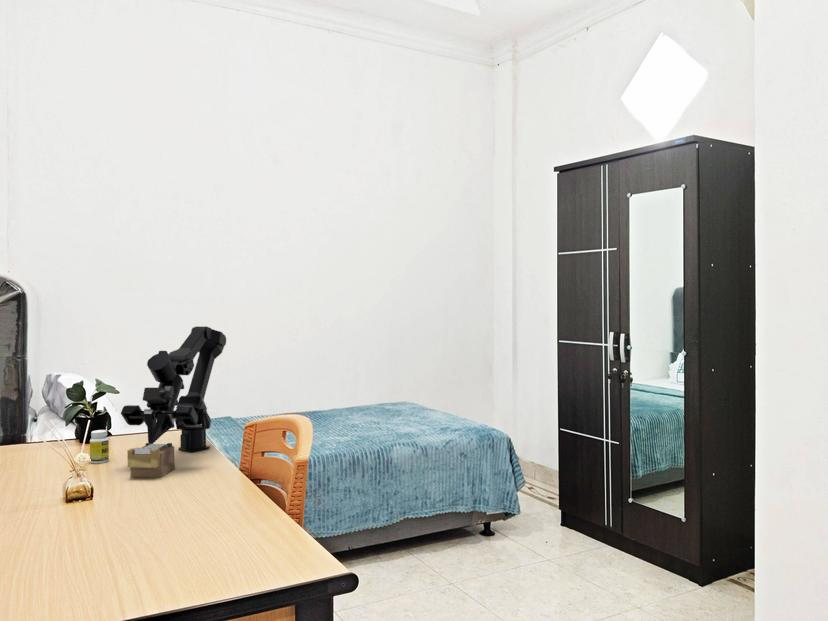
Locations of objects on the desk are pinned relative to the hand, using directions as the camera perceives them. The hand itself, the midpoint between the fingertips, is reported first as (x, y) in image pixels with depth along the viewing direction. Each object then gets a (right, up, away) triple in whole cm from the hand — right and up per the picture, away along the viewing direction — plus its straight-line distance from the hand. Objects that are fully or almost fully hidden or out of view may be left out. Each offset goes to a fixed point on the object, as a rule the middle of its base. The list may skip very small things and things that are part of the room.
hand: (150, 443), depth 174 cm
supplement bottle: (-19, -8, +14) cm, 25 cm away
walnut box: (0, -8, +1) cm, 8 cm away
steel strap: (0, -2, 0) cm, 2 cm away
